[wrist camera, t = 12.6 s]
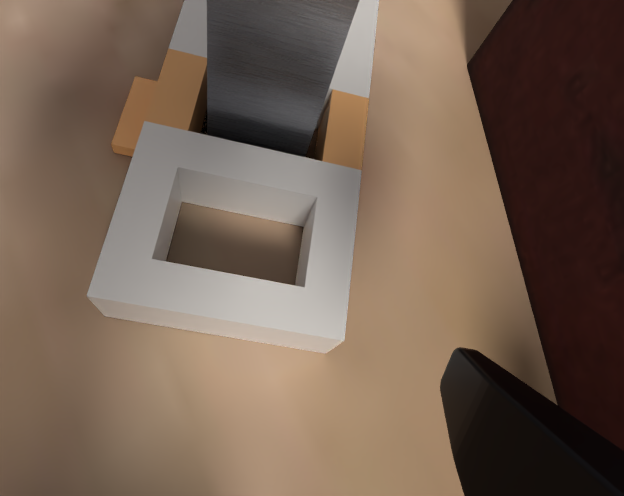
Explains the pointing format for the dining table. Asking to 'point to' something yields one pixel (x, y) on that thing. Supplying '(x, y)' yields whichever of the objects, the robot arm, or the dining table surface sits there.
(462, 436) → the robot arm
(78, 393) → the dining table surface
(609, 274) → the storage box
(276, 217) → the frame
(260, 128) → the graphite panel
